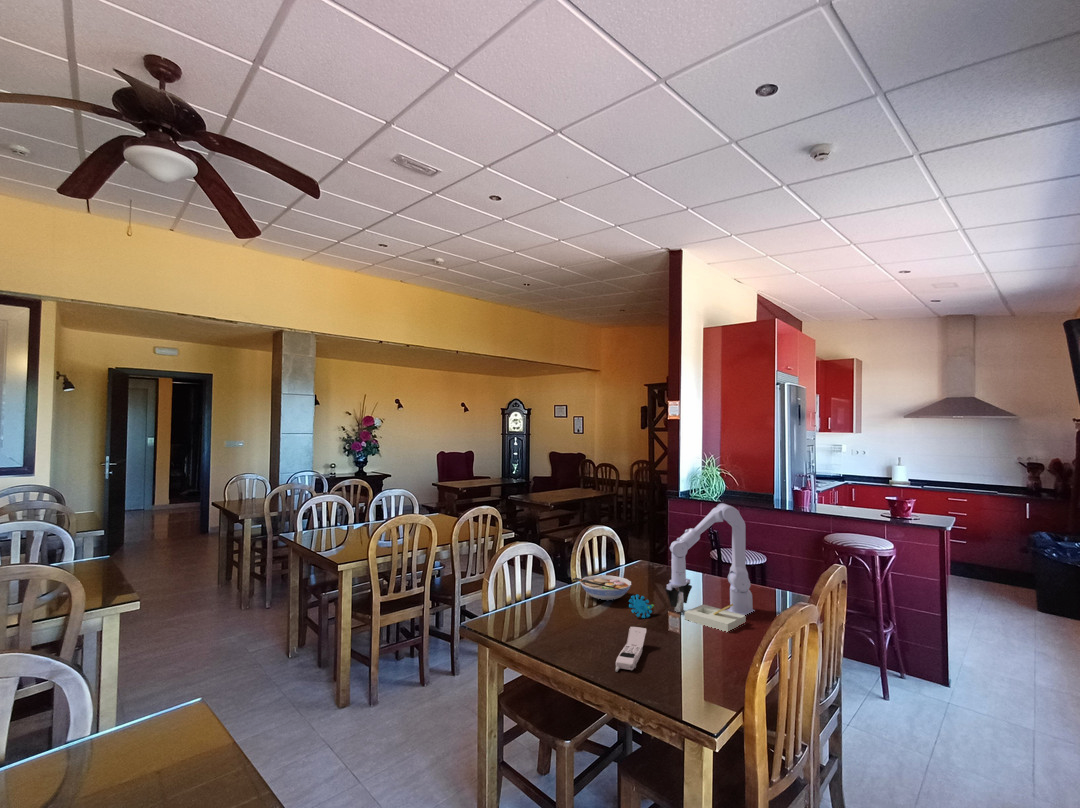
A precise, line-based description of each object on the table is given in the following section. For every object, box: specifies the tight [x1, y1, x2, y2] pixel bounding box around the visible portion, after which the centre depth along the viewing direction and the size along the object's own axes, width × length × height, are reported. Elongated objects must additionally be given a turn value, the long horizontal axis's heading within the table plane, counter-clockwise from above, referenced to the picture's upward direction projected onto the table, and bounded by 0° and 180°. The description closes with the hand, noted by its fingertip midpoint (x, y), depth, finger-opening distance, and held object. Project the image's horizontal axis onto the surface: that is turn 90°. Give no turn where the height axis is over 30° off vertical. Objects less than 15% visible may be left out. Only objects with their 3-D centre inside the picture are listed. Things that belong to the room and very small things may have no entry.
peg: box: [674, 589, 685, 613], centre depth 212 cm, size 4×4×8 cm
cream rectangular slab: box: [684, 604, 747, 633], centre depth 200 cm, size 14×18×3 cm
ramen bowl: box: [572, 574, 632, 601], centre depth 228 cm, size 25×23×8 cm
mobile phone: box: [614, 626, 647, 673], centre depth 167 cm, size 6×6×25 cm
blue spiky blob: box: [628, 594, 654, 619], centre depth 208 cm, size 11×6×10 cm
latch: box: [713, 604, 733, 615], centre depth 197 cm, size 8×3×1 cm
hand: (678, 604), depth 212 cm, fingers open, 7 cm apart
